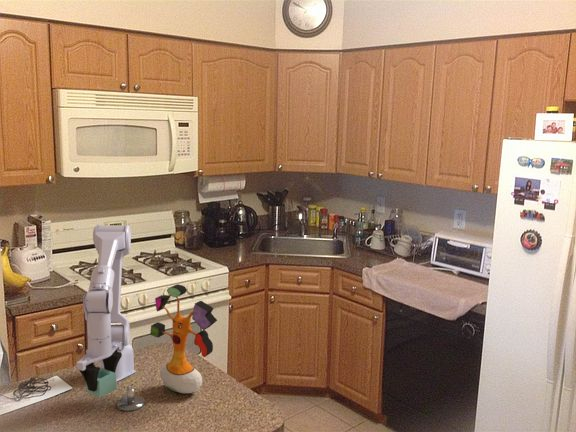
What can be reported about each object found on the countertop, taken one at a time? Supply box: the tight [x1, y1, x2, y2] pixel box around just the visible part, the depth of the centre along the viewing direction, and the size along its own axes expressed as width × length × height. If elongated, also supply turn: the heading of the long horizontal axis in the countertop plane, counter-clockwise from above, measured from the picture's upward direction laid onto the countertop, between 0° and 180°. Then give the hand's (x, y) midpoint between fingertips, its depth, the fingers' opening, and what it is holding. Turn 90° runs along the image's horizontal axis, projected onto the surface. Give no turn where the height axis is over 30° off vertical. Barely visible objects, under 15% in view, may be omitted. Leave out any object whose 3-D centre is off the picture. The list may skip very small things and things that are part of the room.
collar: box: [85, 368, 118, 399], centre depth 144 cm, size 5×5×4 cm
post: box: [116, 386, 146, 413], centre depth 144 cm, size 7×7×4 cm
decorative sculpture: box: [149, 284, 218, 394], centre depth 150 cm, size 20×8×30 cm, turn 65°
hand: (101, 384), depth 144 cm, fingers closed on collar, 6 cm apart
